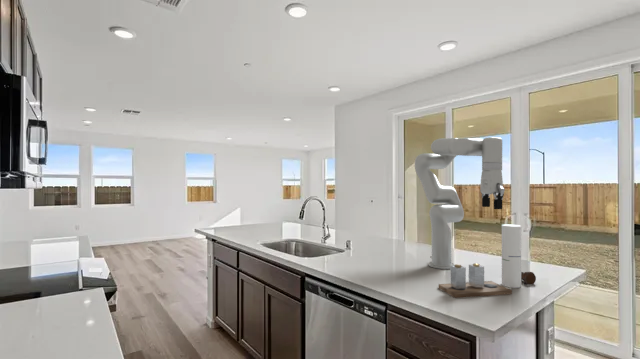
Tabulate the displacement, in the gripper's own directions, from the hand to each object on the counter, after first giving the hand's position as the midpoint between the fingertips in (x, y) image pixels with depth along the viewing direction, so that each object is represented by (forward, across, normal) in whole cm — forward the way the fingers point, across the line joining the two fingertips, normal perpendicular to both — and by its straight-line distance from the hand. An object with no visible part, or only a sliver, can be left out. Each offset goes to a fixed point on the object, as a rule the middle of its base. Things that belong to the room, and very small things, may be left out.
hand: (491, 207), depth 141 cm
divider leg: (+30, +7, -10) cm, 33 cm away
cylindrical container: (+33, 0, +8) cm, 34 cm away
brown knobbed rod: (+33, -8, +16) cm, 37 cm away
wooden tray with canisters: (+32, +7, -11) cm, 35 cm away
